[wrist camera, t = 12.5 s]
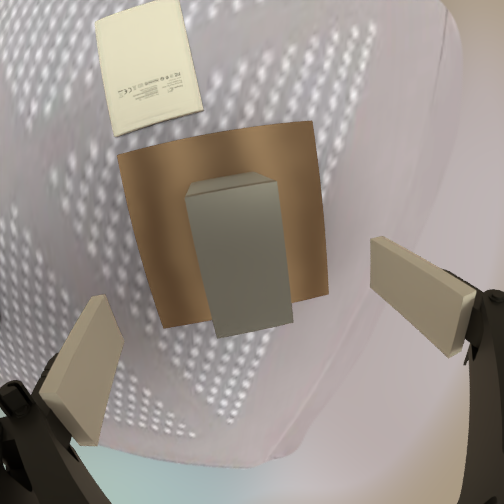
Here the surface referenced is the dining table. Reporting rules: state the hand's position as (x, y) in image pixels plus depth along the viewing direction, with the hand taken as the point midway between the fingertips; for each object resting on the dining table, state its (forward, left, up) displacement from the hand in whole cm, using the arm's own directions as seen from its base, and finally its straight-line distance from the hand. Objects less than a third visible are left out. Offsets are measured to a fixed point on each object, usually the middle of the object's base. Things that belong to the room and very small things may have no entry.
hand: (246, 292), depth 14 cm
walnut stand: (0, 0, -15) cm, 15 cm away
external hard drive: (-5, +16, -15) cm, 23 cm away
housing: (0, 0, -12) cm, 12 cm away
